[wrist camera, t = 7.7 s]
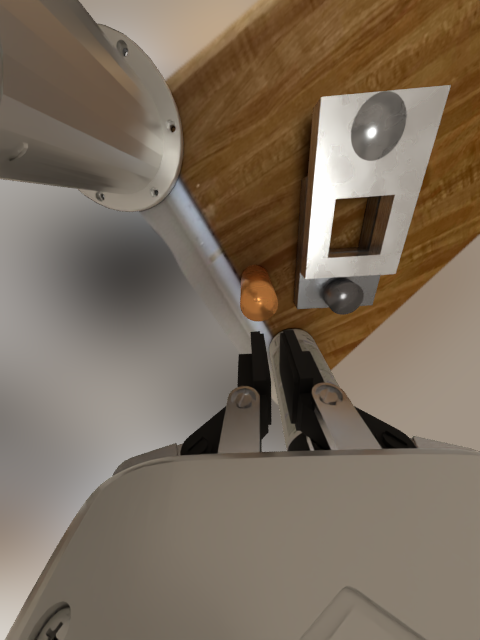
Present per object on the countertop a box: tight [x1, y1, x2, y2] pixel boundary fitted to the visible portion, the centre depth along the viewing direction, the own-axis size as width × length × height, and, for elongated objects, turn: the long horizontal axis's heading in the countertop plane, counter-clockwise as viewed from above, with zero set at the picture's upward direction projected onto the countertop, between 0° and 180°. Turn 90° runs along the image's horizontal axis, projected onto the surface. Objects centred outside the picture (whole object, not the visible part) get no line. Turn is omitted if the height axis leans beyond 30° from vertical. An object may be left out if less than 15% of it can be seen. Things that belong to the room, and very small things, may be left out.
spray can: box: [269, 329, 340, 451], centre depth 22 cm, size 7×7×20 cm
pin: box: [240, 265, 278, 321], centre depth 22 cm, size 3×3×8 cm
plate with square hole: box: [301, 85, 451, 279], centre depth 20 cm, size 14×9×4 cm, turn 4°
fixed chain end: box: [294, 176, 381, 314], centre depth 22 cm, size 14×9×4 cm, turn 4°
